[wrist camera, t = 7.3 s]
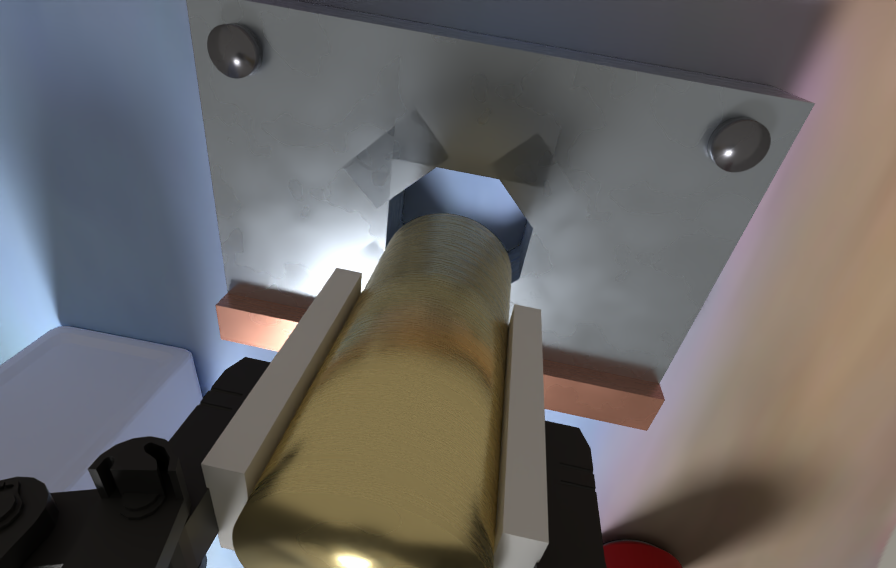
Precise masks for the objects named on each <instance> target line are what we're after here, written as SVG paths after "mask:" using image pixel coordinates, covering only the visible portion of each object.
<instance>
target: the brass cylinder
mask: <svg viewBox="0 0 896 568" xmlns="http://www.w3.org/2000/svg"><path fill="white" fill-rule="evenodd" d="M511 277H512V270H511V263H510V260H509V256H508V254H507V252H506V250H505V248H504V246H503V245H502V243H501V242H500V241H499V239H498V238H497V237H496V236H495V235H494V234H493V233H492V232H491V231H490V230H489V229H487V228H486V227H484V226H483V225H482V224H480V223H478V222H476V221H474V220H472V219H469V218H467V217H463V216H460V215H455V214H447V213H438V214H429V215H425V216H421V217H419V218H416V219H413V220H412V221H410V222H408V223H406V224H405V225H404V226H402V227H401V228H400V229H399V230H398V231H397V232H396V233H395V234H394V236H393V237H392V238H391V240H390V242H389V243H388V245H387V247H386V249H385V251H384V253H383V254H382V256H381V258H380V260H379V262H378V263H377V265H376V267H375V269H374V271H373V273H372V274H371V276H370V278H369V280H368V282H367V284H366V285H365V287H364V289H363V291H362V293H361V294H360V296H359V298H358V300H357V302H356V304H355V305H354V307H353V309H352V311H351V313H350V315H349V316H348V318H347V320H346V322H345V324H344V325H343V327H342V329H341V331H340V333H339V335H338V336H337V338H336V340H335V342H334V344H333V346H332V347H331V349H330V351H329V353H328V355H327V356H326V358H325V360H324V362H323V364H322V366H321V367H320V369H319V371H318V373H317V375H316V376H315V378H314V380H313V382H312V384H311V386H310V387H309V389H308V391H307V393H306V395H305V397H304V398H303V400H302V402H301V404H300V406H299V407H298V409H297V411H296V413H295V415H294V417H293V418H292V420H291V422H290V424H289V426H288V428H287V429H286V431H285V433H284V435H283V437H282V438H281V440H280V442H279V444H278V446H277V448H276V449H275V451H274V453H273V455H272V457H271V459H270V460H269V462H268V464H267V466H266V468H265V469H264V471H263V473H262V475H261V477H260V479H259V480H258V482H257V484H256V486H255V488H254V490H253V491H252V493H251V495H250V497H249V499H248V500H247V502H246V504H245V506H244V508H243V510H242V511H241V513H240V515H239V517H238V519H237V521H236V523H235V525H234V527H233V532H232V542H233V547H234V550H235V553H236V555H237V557H238V559H239V561H240V563H241V564H242V565H243V567H244V568H494V543H495V528H496V512H497V496H498V481H499V465H500V449H501V433H502V417H503V401H504V386H505V370H506V354H507V338H508V325H509V310H510V294H511Z"/></svg>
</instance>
